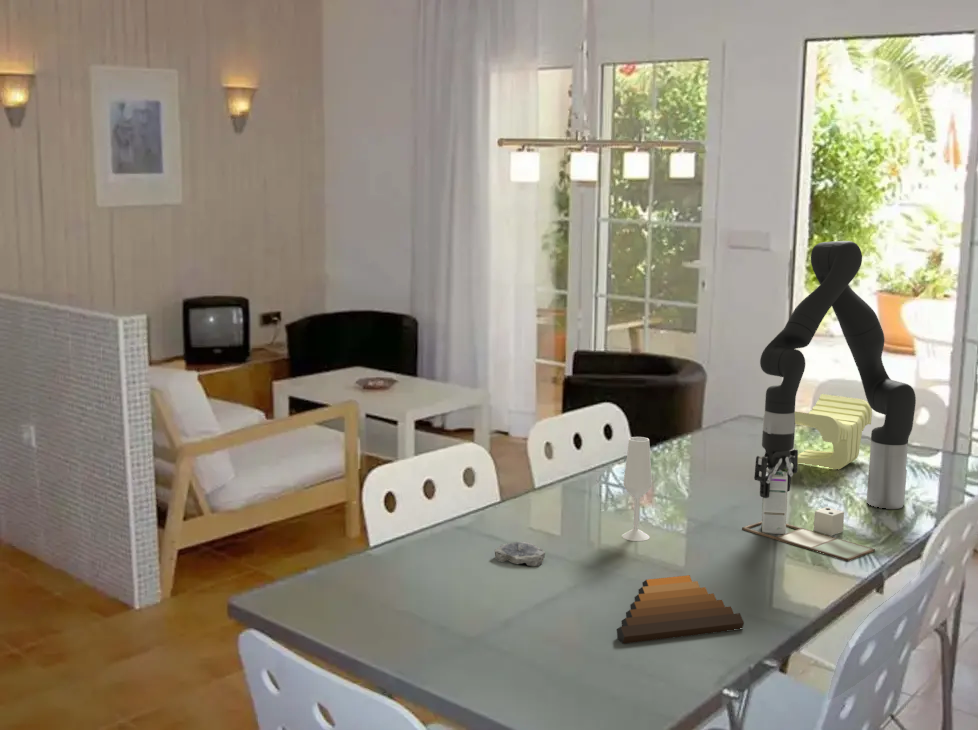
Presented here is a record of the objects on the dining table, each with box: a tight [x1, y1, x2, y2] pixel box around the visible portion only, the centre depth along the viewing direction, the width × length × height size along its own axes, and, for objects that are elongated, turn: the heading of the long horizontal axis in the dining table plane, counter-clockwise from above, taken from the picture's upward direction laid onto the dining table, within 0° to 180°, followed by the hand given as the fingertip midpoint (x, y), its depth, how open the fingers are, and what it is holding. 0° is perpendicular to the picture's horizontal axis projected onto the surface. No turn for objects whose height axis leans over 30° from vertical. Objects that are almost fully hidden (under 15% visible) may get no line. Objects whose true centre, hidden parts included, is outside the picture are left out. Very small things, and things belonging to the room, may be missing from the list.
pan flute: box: [616, 575, 745, 645], centre depth 231 cm, size 25×3×25 cm
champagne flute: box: [621, 436, 653, 542], centre depth 276 cm, size 7×7×24 cm
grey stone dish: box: [494, 541, 546, 567], centre depth 262 cm, size 11×4×10 cm
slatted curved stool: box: [795, 393, 873, 471], centre depth 346 cm, size 30×16×18 cm, turn 144°
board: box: [741, 520, 876, 562], centre depth 277 cm, size 11×29×1 cm, turn 41°
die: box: [813, 506, 845, 537], centre depth 283 cm, size 5×5×5 cm
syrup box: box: [761, 470, 788, 535], centre depth 283 cm, size 6×6×14 cm
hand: (774, 494), depth 282 cm, fingers closed on syrup box, 8 cm apart
